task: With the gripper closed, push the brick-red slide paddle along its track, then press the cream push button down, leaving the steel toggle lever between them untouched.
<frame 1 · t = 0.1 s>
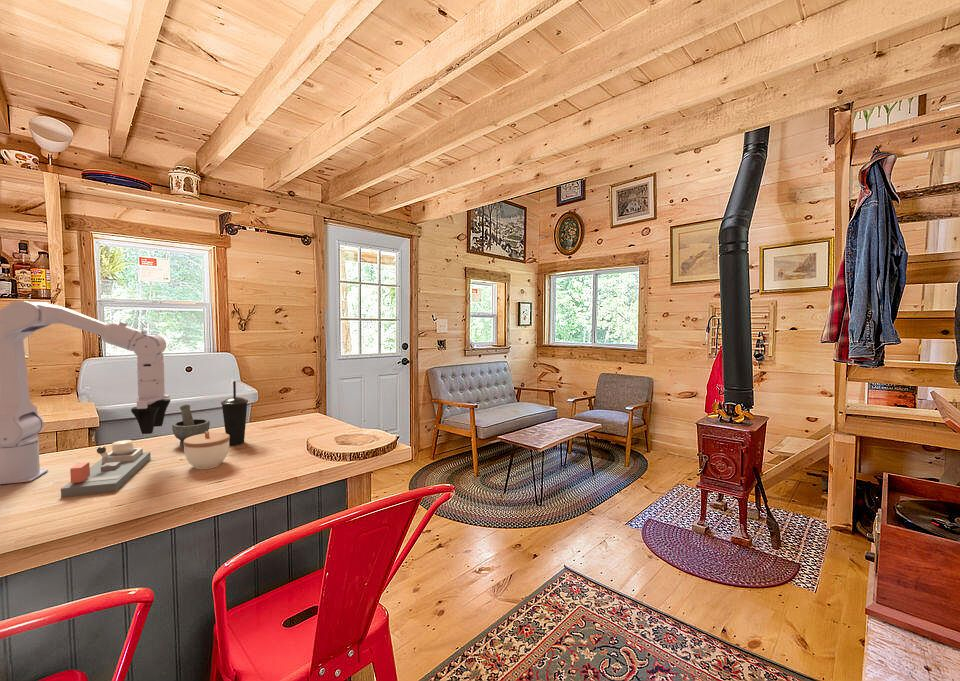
hand: (152, 429, 117), 10 cm above the table, tool pointing down, fingers open, 7 cm apart
drinking cup: (235, 443, 139), on the table
slide paddle: (80, 472, 102), point 4 cm above the table, slide at 0.0 cm
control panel: (111, 475, 111), on the table
lidded jar: (207, 466, 119), on the table
push button: (122, 447, 118), point 5 cm above the table, slide at 0.0 cm
mortar and pestle: (190, 444, 138), on the table
toggle lever: (102, 452, 110), point 6 cm above the table, hinge at -25.0°
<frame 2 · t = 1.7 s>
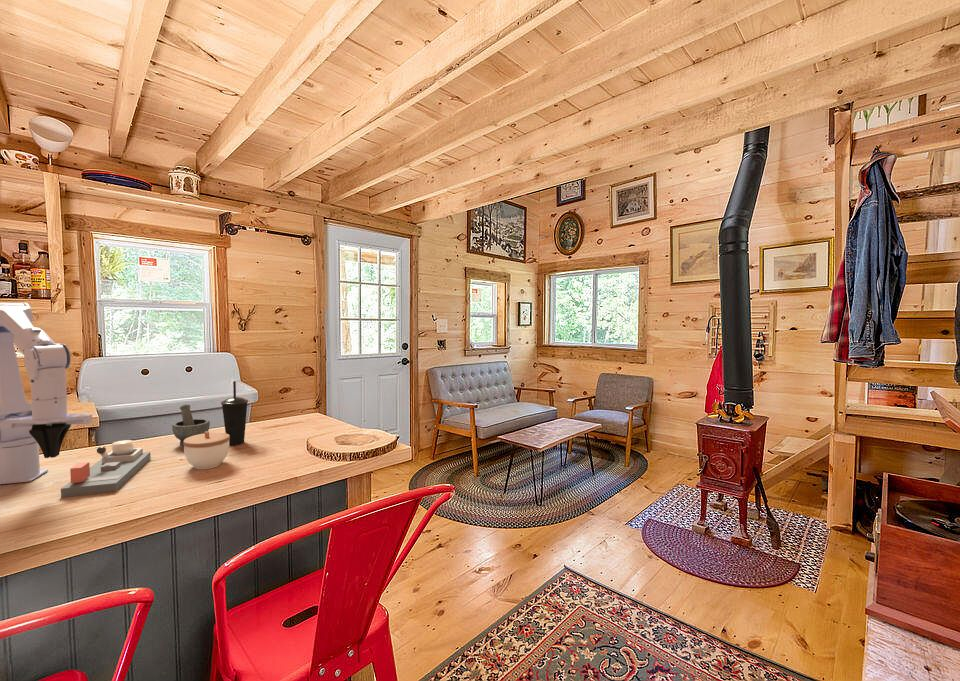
hand: (51, 456, 100), 8 cm above the table, tool pointing down, fingers closed
nothing on the table moved.
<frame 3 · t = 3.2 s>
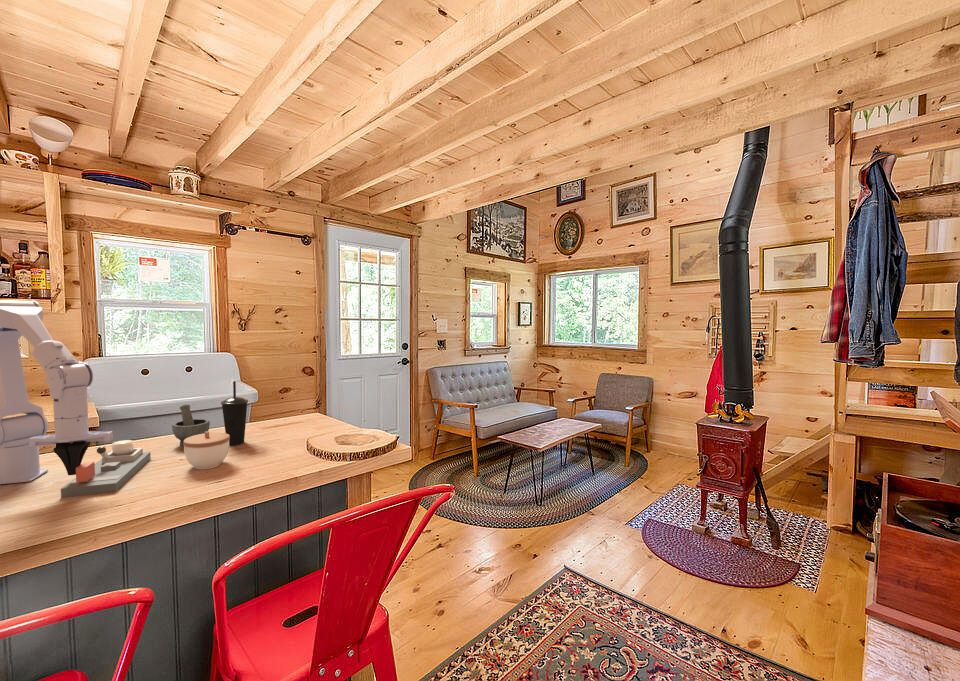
hand: (73, 473, 101), 4 cm above the table, tool pointing down, fingers closed
slide paddle: (85, 471, 102), point 4 cm above the table, slide at 1.0 cm, touching gripper
everything else where it was.
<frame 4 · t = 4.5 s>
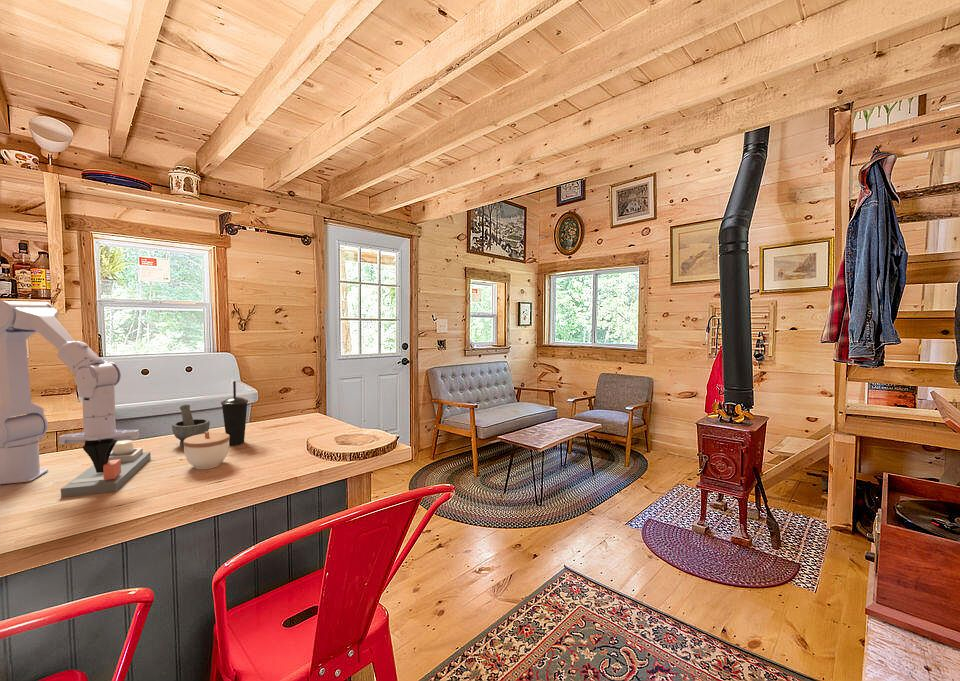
hand: (101, 471, 103), 4 cm above the table, tool pointing down, fingers closed
slide paddle: (112, 469, 104), point 4 cm above the table, slide at 6.1 cm, touching gripper
everything else where it was.
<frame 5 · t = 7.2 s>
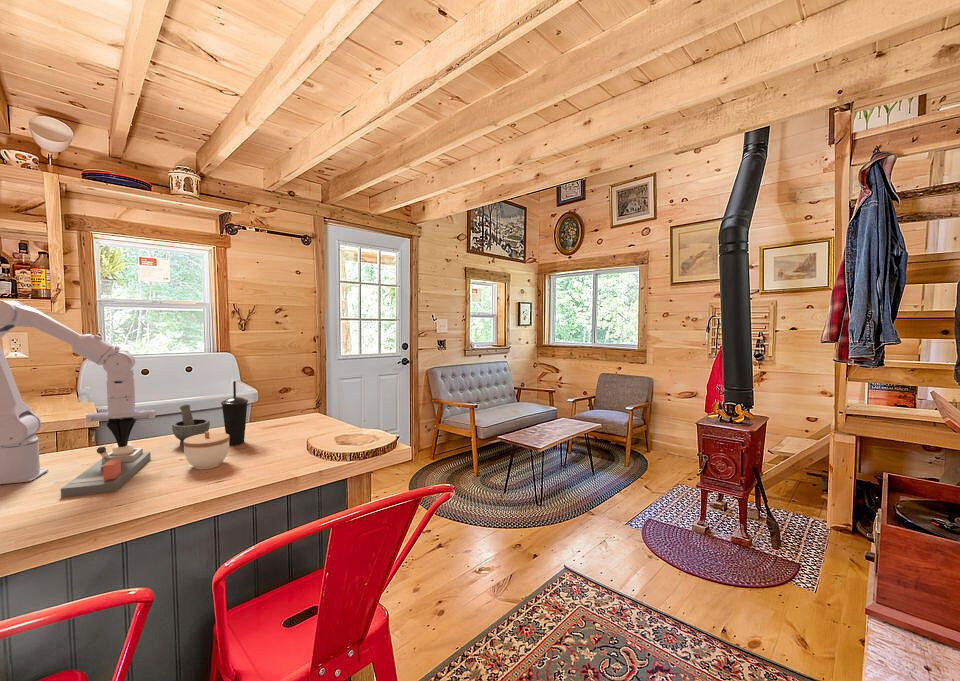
hand: (122, 446, 118), 5 cm above the table, tool pointing down, fingers closed, pressing on push button
slide paddle: (112, 469, 104), point 4 cm above the table, slide at 6.1 cm
push button: (122, 450, 118), point 4 cm above the table, slide at 0.9 cm, touching gripper
everything else where it was.
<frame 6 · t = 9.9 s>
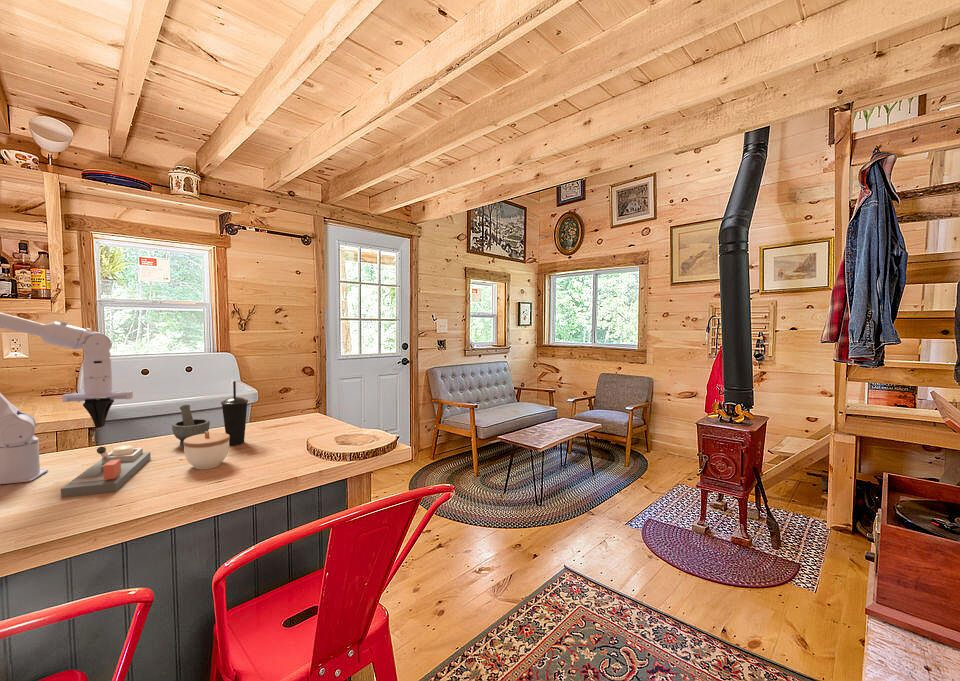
hand: (99, 426, 118), 10 cm above the table, tool pointing down, fingers closed
push button: (123, 452, 118), point 4 cm above the table, slide at 1.5 cm
everything else where it was.
at the end: slide paddle slide at 6.1 cm; push button slide at 1.5 cm; toggle lever at -25° (first picture: -25°) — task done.
